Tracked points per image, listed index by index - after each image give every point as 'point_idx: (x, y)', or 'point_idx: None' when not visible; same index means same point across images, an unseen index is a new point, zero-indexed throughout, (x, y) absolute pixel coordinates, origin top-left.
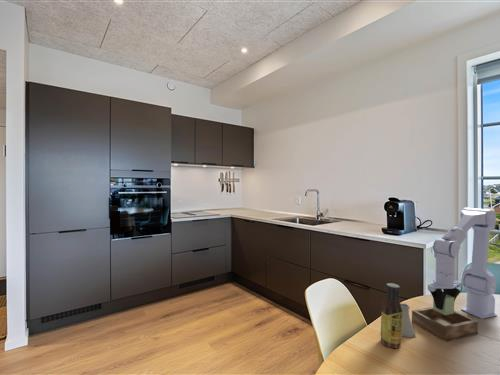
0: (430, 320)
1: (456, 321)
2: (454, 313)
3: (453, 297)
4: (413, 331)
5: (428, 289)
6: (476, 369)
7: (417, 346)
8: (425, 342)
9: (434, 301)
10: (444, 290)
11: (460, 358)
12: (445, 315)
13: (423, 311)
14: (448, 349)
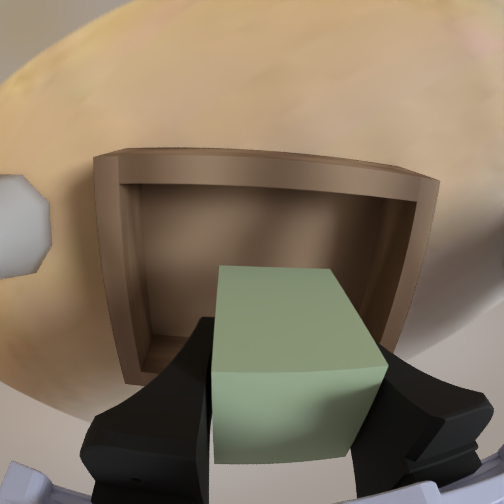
0: (108, 307)
1: (372, 272)
2: (394, 280)
3: (335, 457)
4: (19, 275)
5: (14, 471)
6: None
7: (12, 314)
8: (52, 311)
9: (185, 346)
10: (399, 411)
11: (108, 400)
12: (387, 207)
13: (194, 181)
14: (107, 368)
